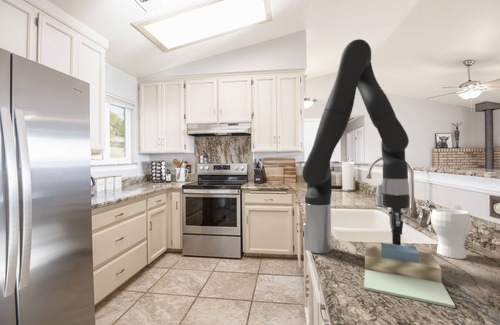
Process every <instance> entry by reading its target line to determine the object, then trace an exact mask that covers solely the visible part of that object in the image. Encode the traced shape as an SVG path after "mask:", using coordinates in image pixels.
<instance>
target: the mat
mask: <svg viewBox="0 0 500 325" xmlns="http://www.w3.org/2000/svg"><path fill="white" fill-rule="evenodd" d="M363 277H364V279H363V290H366V291H371V292H377V293H380V294H386V295H390V296H393V297H400V298H405V299H408V300H412V301H413V300H414V301H418V302H419V301H420V302H423V303H429V304H434V305H438V306H444V307H448V308H453V309H456V305H455V303H454V301H453V300H452V298H451V296H450V294H449V292H448V290H447V289H446V287H445V285H444V284H443V282H442V281H441V282H435V281H429V280H424V279H418V278H412V277H406V276H400V275H395V274H389V273H383V272H377V271H371V270H366V269H365V268H364V276H363Z"/></svg>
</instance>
